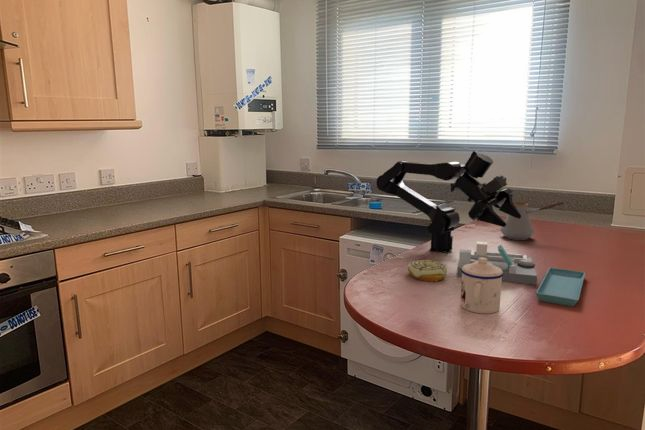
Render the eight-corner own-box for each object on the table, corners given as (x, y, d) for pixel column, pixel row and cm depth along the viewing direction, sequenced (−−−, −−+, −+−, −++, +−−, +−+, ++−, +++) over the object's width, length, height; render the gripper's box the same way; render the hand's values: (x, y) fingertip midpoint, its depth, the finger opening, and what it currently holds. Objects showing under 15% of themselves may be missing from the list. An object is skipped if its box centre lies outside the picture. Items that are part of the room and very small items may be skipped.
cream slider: (475, 256, 141) (476, 243, 141) (476, 254, 144) (476, 241, 143) (486, 257, 140) (487, 244, 140) (486, 255, 143) (487, 242, 143)
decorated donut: (413, 283, 127) (413, 269, 126) (403, 271, 137) (404, 258, 137) (451, 282, 127) (452, 268, 127) (439, 270, 138) (439, 257, 137)
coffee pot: (496, 238, 176) (499, 198, 173) (504, 232, 185) (506, 194, 182) (560, 246, 164) (564, 203, 161) (564, 240, 174) (568, 199, 171)
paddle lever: (511, 272, 127) (497, 251, 128) (510, 267, 132) (497, 246, 132) (516, 269, 127) (502, 248, 127) (515, 264, 131) (501, 244, 132)
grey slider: (458, 265, 133) (459, 251, 132) (459, 262, 135) (460, 249, 135) (470, 266, 132) (470, 252, 131) (470, 263, 134) (471, 250, 134)
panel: (457, 277, 131) (458, 261, 130) (460, 259, 148) (461, 245, 147) (537, 285, 125) (538, 268, 124) (531, 266, 142) (532, 251, 141)
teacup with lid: (462, 297, 116) (465, 251, 113) (502, 303, 112) (506, 255, 110) (453, 315, 105) (456, 264, 103) (497, 322, 101) (500, 269, 99)
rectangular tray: (548, 274, 136) (549, 265, 135) (584, 279, 131) (585, 270, 130) (534, 302, 114) (535, 292, 113) (577, 310, 109) (578, 300, 109)
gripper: (469, 175, 138) (512, 209, 131) (501, 163, 150) (542, 194, 143) (452, 203, 145) (491, 237, 138) (484, 190, 157) (522, 220, 150)
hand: (513, 221), depth 142 cm, fingers open, 9 cm apart
